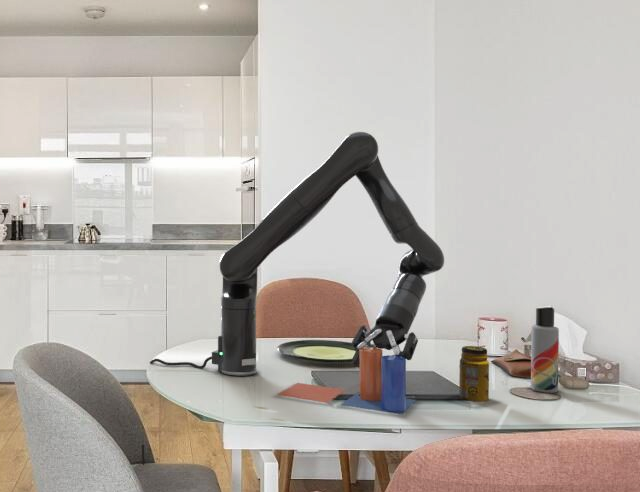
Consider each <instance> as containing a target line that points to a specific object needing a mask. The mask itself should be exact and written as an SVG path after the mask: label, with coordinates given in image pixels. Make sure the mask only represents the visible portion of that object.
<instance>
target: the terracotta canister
mask: <svg viewBox="0 0 640 492" xmlns="http://www.w3.org/2000/svg"><path fill="white" fill-rule="evenodd" d="M382 356H384V350H383V349H379V348H370V347H366V348H360V355H359V367H358V368H359V373H358V374H359V379H358V380H359V381H358V383H359V385H358V387H359V390H358V392H359V394H360V396H359V397H360V398H361V399H363V400H368V401H380V400H381V357H382Z"/></svg>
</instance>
